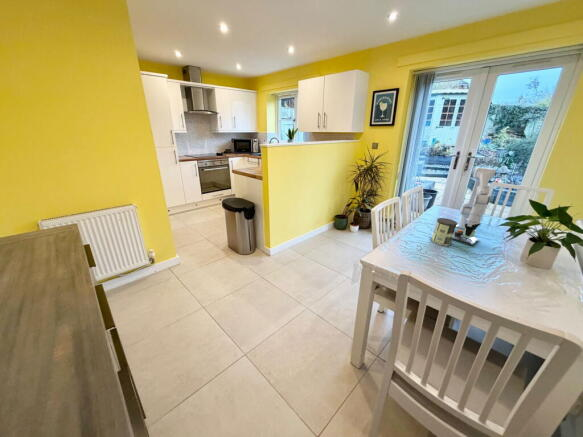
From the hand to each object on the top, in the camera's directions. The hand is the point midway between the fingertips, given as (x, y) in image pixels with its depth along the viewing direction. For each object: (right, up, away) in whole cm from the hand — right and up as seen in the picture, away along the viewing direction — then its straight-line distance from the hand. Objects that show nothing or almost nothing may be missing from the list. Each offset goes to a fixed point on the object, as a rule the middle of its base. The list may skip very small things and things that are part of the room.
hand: (469, 234), depth 140 cm
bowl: (0, -1, +1) cm, 1 cm away
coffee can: (-17, -5, +2) cm, 17 cm away
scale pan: (0, -2, +1) cm, 2 cm away
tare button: (+1, +1, +9) cm, 9 cm away
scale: (0, -4, +5) cm, 6 cm away
